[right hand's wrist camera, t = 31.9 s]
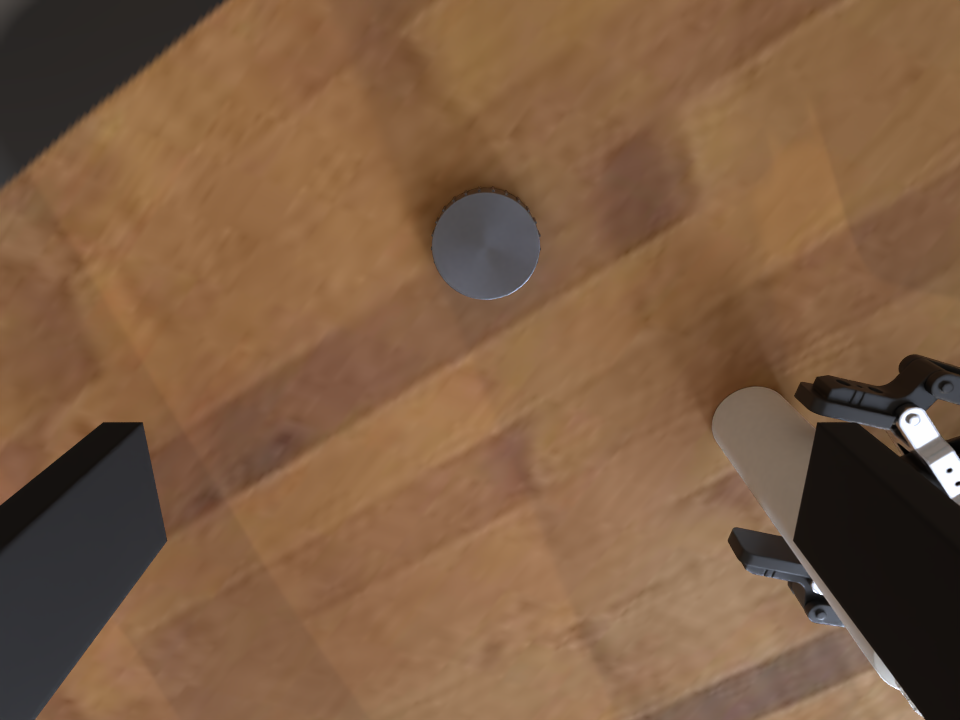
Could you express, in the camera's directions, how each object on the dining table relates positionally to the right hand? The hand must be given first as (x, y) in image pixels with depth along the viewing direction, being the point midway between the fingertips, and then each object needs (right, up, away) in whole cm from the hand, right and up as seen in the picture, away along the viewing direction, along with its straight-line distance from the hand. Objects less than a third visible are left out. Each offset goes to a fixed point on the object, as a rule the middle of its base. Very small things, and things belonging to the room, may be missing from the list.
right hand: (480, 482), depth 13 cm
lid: (0, +8, +19) cm, 21 cm away
